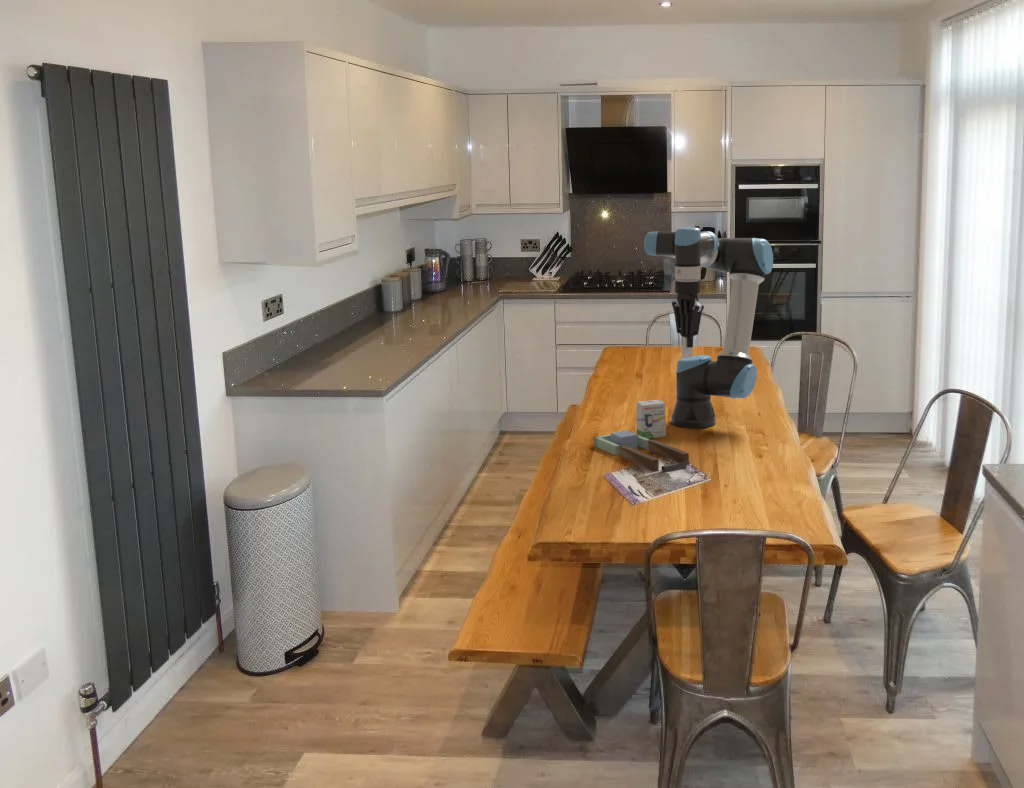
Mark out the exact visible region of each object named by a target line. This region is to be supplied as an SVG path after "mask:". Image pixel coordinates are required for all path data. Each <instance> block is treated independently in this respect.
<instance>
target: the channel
mask: <svg viewBox="0 0 1024 788" xmlns="http://www.w3.org/2000/svg"><path fill="white" fill-rule="evenodd" d="M647 450H648V452H649V453H652V454H654V455H657V456H659V457H662V458H664V459H666V458H668V459H667V460H669V459H670V460H669V461H671V460H672V462H674V461H675V462H674V463H676V462H677V463H679V462H686V463H687V464H688V465H689V464H690V462H689V461H690V458H689V457H690V453H689V452H687V451H685V450H682V449H680V448H677V447H674V446H671V445H669V444H666V443H663V442H661V441H660V440H657V439H650V440H649V441H648V449H647ZM618 456H619V458H621V459H624V460H626V461H628V462H630V463H632V464H635V465H637V466H639V467H641V468H643V467H644V469H646V470H649V471H650V472H653V473H654V472H659V469H660V467H659V466H660V460H659V458H657V457H655V456H653V455H652V456H651V455H649V454H647V453H645V452H642V451H640V450H638V449H637V450H635V449H633V448H630V447H628V446H625V445H622V446H619V455H618Z"/></svg>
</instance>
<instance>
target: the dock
mask: <svg viewBox="0 0 1024 788" xmlns="http://www.w3.org/2000/svg"><path fill="white" fill-rule="evenodd" d="M649 440H651V438H650V439H647V438H645V437H642V436H639V435H638V448H641V449H644V450H648V441H649ZM593 441H594V442H593V443H594V444H593V446H594V447H596V449H597V448H598V449H600V450H603V451H605V452H607V453H610V454H612V455H614V456H619V446H620V445H617V444H615V443H613V442H611V433H610V434H604V435H599V436H594V437H593Z"/></svg>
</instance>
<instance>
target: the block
mask: <svg viewBox="0 0 1024 788" xmlns="http://www.w3.org/2000/svg"><path fill="white" fill-rule="evenodd" d="M610 434H611V442H613V443H615V444H617V445H620V446H622V445H625V446H628V447H630V448H633V449H635V450H638V449H639V446H638V435H637V433H634V432H632V431H631V430H630V431H629V430H622V431H616V432H611V433H610Z"/></svg>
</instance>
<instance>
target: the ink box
mask: <svg viewBox="0 0 1024 788" xmlns="http://www.w3.org/2000/svg"><path fill="white" fill-rule="evenodd" d="M666 424H667V423H666V402H664V401H662V400H661V399H652V400H651V399H649V400H642V401H640V400H639V401H637V402H636V434H637V435H639V436H642V437H645V438H647V439H650V440H651V439H657V438H663V437H664V438H665V437H666V436H667V433H666Z"/></svg>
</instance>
